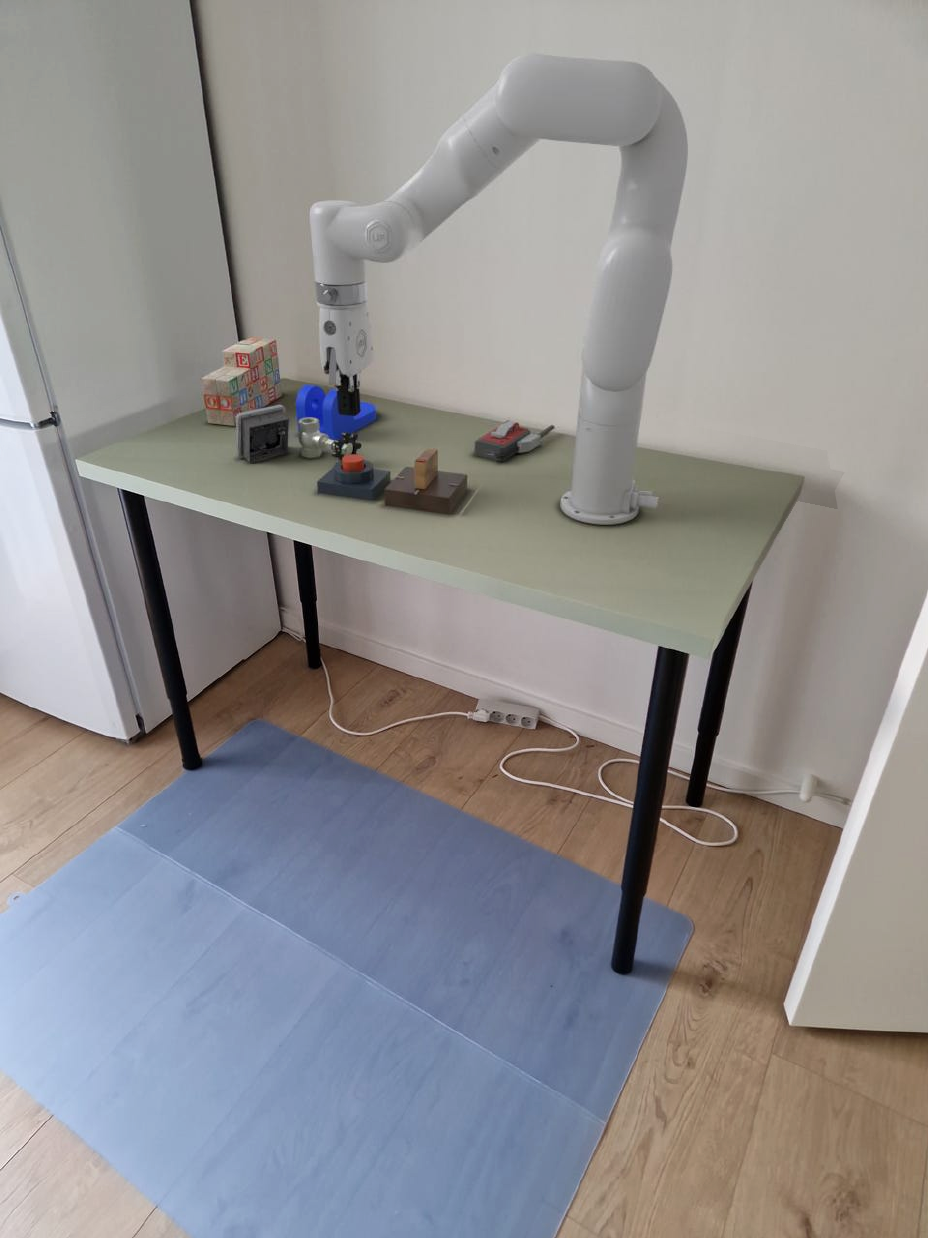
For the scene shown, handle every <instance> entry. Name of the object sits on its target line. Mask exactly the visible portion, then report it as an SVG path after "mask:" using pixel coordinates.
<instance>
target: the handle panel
mask: <svg viewBox="0 0 928 1238" xmlns="http://www.w3.org/2000/svg"><path fill="white" fill-rule="evenodd" d="M467 491H468V474H465V473H457V472H450V471H443V470H438V475H437V476H436V477H435V478H434V480H433V481H432V482H431V483H430V484H429V485H428V487H427V488H426V489H418V488H415V476H414V466H405V467H404V468H403V469H402V470H401V471H400V472H399V473H398V474H397V475H396V476H395V477H394V478H393V480H392V481H391V483H390V484H389V485H388V486H387V487H386V488H385V489H384V490H383V492H384V506H385V507H393V508H399V509H407V510H413V511H419V512H420V511H421V512H427V513H433V514H434V513H435V514H441V515H448V516H449V515H450V514H451V513H452V511H453V510H454V509H455V508H456V506H457V505H458V504H459V502H460V501H461V499H463V497H464V496H465V494H466V493H467Z"/></svg>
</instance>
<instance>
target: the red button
mask: <svg viewBox="0 0 928 1238" xmlns="http://www.w3.org/2000/svg"><path fill="white" fill-rule="evenodd" d="M356 454H357V453H356ZM356 454H352V455H351V454H348V455H347V454H345V455H344V457H343V458H342V465H343V470H345V471H359V470H362V469H364V460H365V458H364V456H362V455H361V454H358V455H356Z"/></svg>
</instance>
